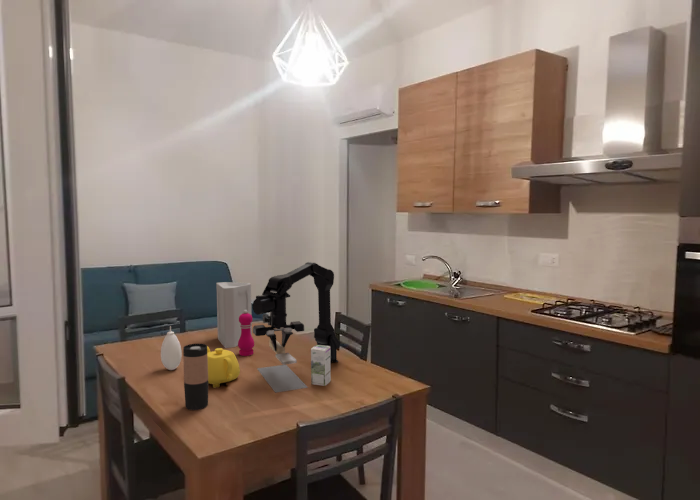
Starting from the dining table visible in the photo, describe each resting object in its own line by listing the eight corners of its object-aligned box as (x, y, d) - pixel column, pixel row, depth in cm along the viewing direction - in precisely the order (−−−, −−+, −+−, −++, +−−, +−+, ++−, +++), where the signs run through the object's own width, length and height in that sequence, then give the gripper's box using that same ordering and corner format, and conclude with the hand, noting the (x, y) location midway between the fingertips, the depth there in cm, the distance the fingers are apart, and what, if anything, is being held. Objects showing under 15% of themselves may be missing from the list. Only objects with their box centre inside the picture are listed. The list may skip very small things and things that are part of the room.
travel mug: (187, 401, 166) (186, 343, 165) (211, 400, 167) (209, 343, 165) (182, 410, 159) (180, 350, 157) (206, 410, 160) (204, 349, 158)
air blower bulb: (185, 369, 200) (184, 325, 198) (167, 374, 194) (165, 329, 192) (176, 365, 205) (174, 322, 203) (157, 369, 199) (156, 325, 198)
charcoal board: (286, 367, 202) (285, 364, 202) (308, 390, 176) (308, 387, 176) (256, 371, 197) (256, 368, 197) (275, 395, 172) (275, 392, 171)
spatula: (278, 345, 198) (278, 338, 198) (296, 362, 176) (296, 355, 176) (266, 347, 196) (266, 340, 196) (283, 364, 174) (282, 357, 174)
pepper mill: (250, 356, 216) (249, 311, 214) (235, 355, 218) (234, 311, 216) (257, 352, 223) (256, 308, 221) (242, 351, 225) (241, 307, 223)
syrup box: (331, 383, 183) (331, 345, 182) (325, 389, 178) (325, 349, 177) (317, 382, 185) (316, 344, 184) (310, 387, 180) (310, 348, 178)
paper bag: (256, 344, 236) (255, 286, 233) (224, 348, 230) (223, 288, 227) (246, 334, 253) (245, 280, 251) (217, 338, 247) (216, 282, 244)
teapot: (214, 393, 174) (213, 357, 173) (188, 378, 189) (187, 346, 188) (247, 383, 184) (247, 350, 182) (221, 370, 198) (220, 339, 197)
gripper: (295, 304, 198) (296, 342, 199) (249, 308, 190) (250, 347, 192) (304, 309, 188) (304, 349, 189) (255, 314, 180) (256, 355, 182)
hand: (279, 350), depth 188 cm, fingers closed on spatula, 2 cm apart
